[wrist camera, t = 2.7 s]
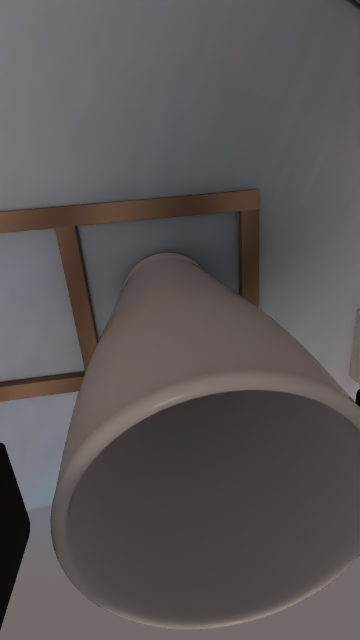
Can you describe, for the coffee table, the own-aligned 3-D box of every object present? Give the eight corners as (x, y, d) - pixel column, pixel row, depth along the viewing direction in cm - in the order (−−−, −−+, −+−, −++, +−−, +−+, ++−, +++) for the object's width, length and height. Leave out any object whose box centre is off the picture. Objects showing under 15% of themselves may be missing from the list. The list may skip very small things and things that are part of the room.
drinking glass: (121, 223, 18) (74, 333, 5) (236, 253, 20) (466, 407, 6) (99, 334, 21) (23, 634, 7) (203, 354, 22) (317, 637, 8)
